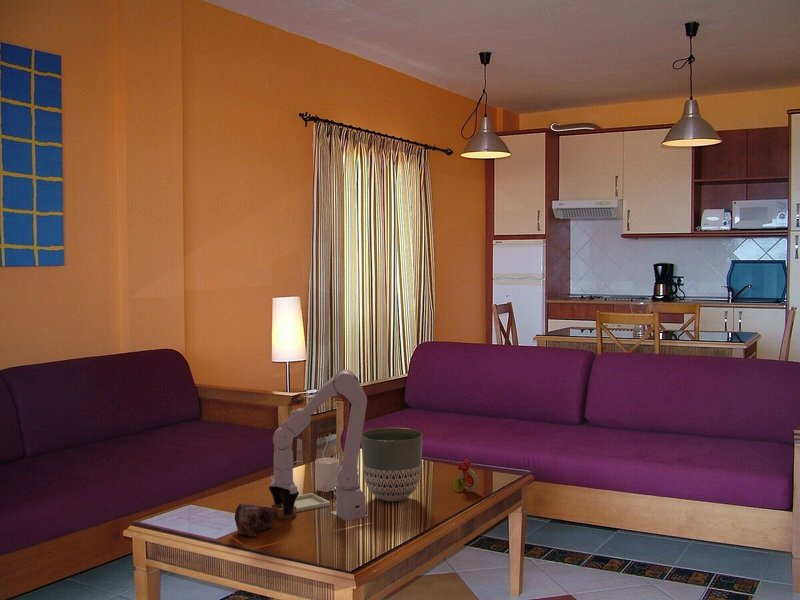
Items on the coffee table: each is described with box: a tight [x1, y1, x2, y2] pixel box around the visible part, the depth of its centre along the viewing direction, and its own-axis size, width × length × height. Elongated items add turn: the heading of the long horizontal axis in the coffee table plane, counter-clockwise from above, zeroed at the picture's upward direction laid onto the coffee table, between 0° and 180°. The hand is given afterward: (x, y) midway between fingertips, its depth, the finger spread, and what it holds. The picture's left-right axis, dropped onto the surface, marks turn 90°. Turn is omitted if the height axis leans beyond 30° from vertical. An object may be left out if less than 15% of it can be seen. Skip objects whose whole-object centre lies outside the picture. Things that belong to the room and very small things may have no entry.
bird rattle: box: [452, 458, 480, 493], centre depth 280 cm, size 6×11×9 cm
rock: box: [234, 503, 274, 538], centre depth 239 cm, size 12×9×10 cm
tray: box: [294, 492, 331, 513], centre depth 265 cm, size 12×12×2 cm
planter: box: [361, 427, 424, 503], centre depth 270 cm, size 20×20×21 cm
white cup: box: [314, 457, 340, 493], centre depth 282 cm, size 8×8×10 cm
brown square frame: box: [270, 503, 297, 520], centre depth 253 cm, size 6×7×3 cm
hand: (283, 511), depth 253 cm, fingers closed on brown square frame, 6 cm apart
